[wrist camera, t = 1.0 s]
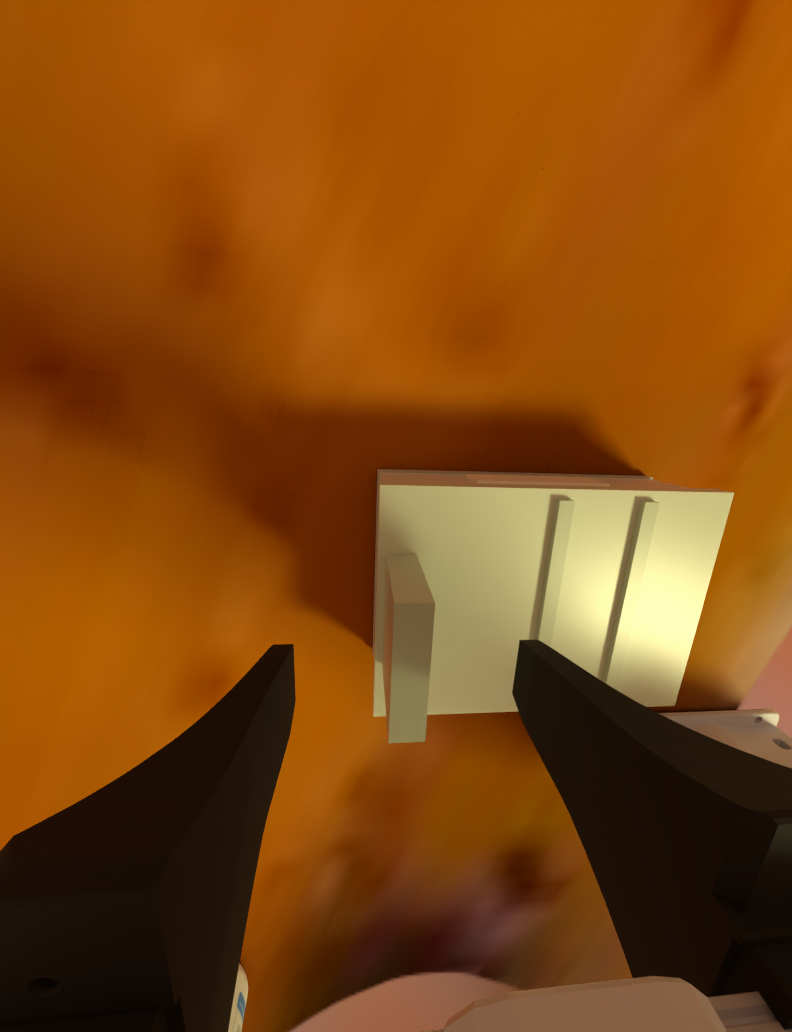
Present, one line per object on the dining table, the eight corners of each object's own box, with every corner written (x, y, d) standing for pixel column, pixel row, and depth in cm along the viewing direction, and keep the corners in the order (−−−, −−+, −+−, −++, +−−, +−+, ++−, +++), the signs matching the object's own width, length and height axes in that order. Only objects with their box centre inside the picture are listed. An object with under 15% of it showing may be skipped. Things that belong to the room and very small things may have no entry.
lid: (716, 488, 16) (858, 519, 12) (662, 693, 19) (759, 784, 14) (378, 481, 15) (387, 512, 10) (372, 703, 18) (377, 807, 13)
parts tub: (646, 474, 20) (714, 489, 16) (610, 644, 23) (660, 692, 19) (377, 467, 19) (381, 482, 15) (372, 649, 21) (375, 701, 18)
